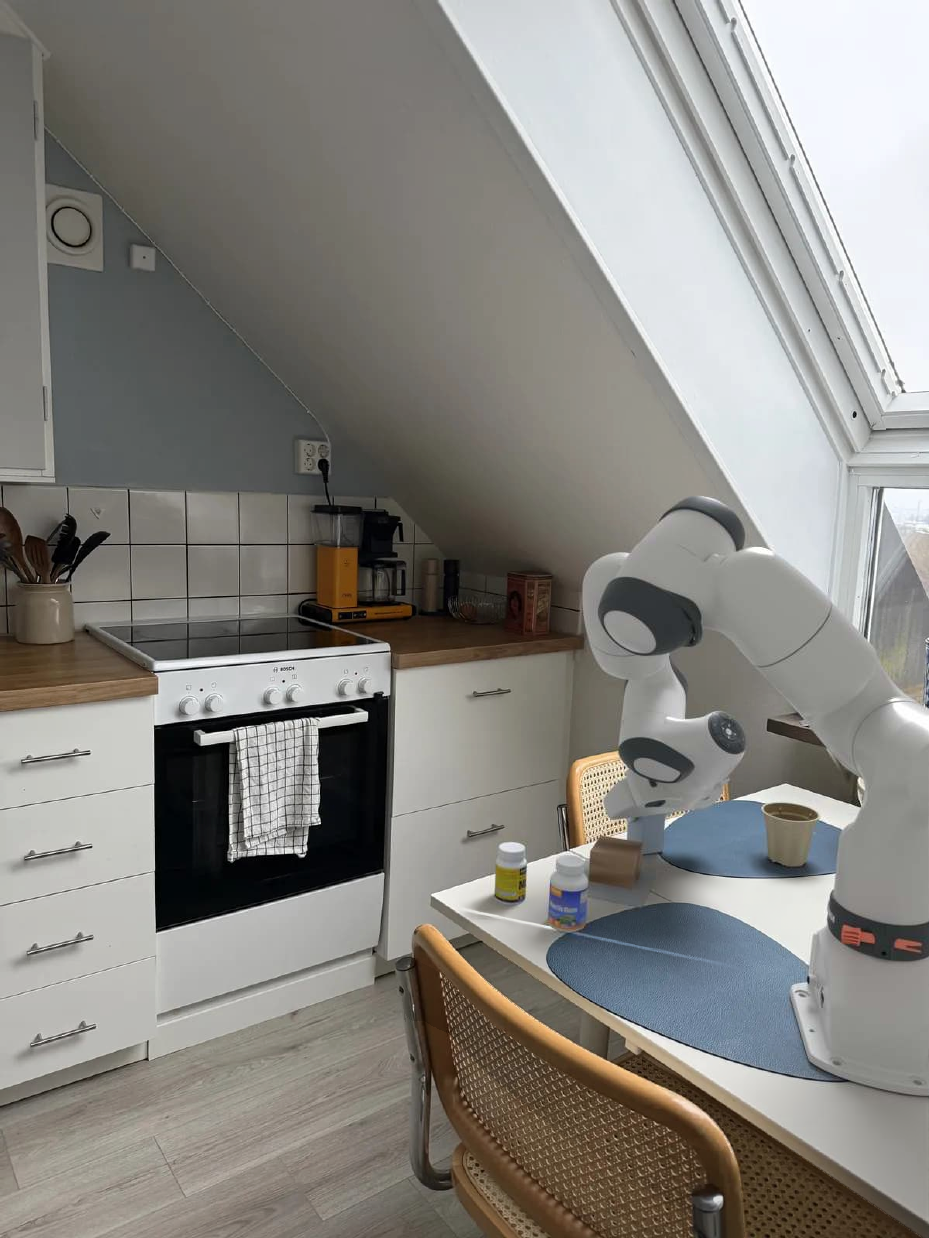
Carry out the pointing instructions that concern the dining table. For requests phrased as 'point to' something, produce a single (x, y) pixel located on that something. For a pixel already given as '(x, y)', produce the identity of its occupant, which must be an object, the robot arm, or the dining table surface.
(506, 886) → the supplement bottle
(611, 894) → the mat
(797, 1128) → the dining table surface
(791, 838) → the flower pot
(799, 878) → the dining table surface
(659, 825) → the slate pillar
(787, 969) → the dining table surface
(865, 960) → the robot arm
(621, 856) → the walnut block
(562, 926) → the pill bottle
